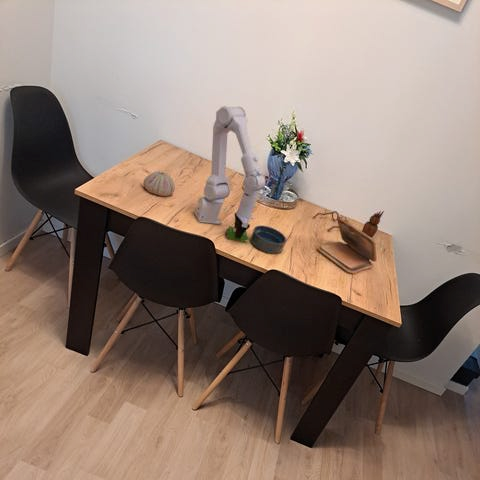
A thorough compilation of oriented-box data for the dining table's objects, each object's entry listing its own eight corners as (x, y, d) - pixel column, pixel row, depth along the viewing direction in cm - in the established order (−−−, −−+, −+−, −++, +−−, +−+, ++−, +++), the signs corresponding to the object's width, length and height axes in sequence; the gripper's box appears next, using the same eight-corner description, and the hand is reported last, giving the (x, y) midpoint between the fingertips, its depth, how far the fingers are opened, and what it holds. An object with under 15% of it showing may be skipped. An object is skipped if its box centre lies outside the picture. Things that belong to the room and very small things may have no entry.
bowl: (257, 253, 183) (261, 242, 180) (245, 234, 192) (248, 224, 189) (287, 255, 189) (291, 245, 186) (273, 237, 198) (277, 227, 196)
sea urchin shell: (174, 201, 196) (178, 183, 191) (141, 193, 192) (145, 175, 187) (173, 188, 206) (177, 171, 201) (142, 180, 202) (146, 163, 197)
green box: (226, 238, 184) (228, 231, 183) (225, 232, 188) (227, 225, 186) (246, 242, 187) (248, 235, 185) (245, 237, 190) (247, 230, 188)
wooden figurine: (372, 237, 235) (387, 210, 227) (371, 241, 230) (386, 214, 222) (360, 231, 236) (374, 205, 227) (359, 235, 231) (373, 208, 222)
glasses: (346, 231, 230) (351, 223, 227) (328, 231, 223) (332, 222, 220) (331, 218, 238) (335, 209, 235) (312, 217, 231) (316, 208, 228)
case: (374, 267, 207) (392, 236, 198) (350, 275, 193) (368, 242, 184) (340, 243, 216) (355, 212, 207) (314, 249, 202) (329, 216, 193)
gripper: (259, 215, 174) (248, 246, 182) (255, 198, 185) (244, 228, 193) (241, 210, 172) (231, 241, 180) (238, 194, 183) (228, 224, 191)
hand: (236, 234), depth 186 cm, fingers closed on green box, 4 cm apart
